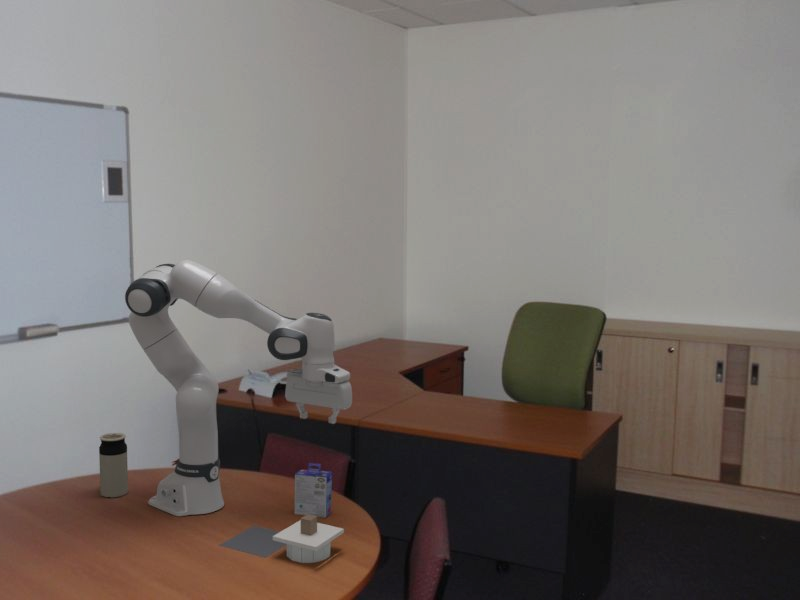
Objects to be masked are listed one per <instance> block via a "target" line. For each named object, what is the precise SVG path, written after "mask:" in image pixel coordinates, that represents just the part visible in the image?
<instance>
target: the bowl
mask: <svg viewBox="0 0 800 600" xmlns="http://www.w3.org/2000/svg"><path fill="white" fill-rule="evenodd" d="M331 542H332V541H331ZM331 542H329V543H328V544H326V545H325V546H323V547H322V548H320V549H319V550H317V551H314V550H310V549H306V548H302V547H298V546H294V545H290V544H287V545H286V557H287V558H288V559H289V560H291V561H292V562H296V563H299V564H300V563H301V564H314V563H318V562H323V561H324V562H325V560H327V559H329V558H330V557H331V551H332V550H331V548H332V547H331V545H332V543H331Z"/></svg>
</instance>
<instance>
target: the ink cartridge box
mask: <svg viewBox="0 0 800 600" xmlns="http://www.w3.org/2000/svg"><path fill="white" fill-rule="evenodd" d="M321 465H322V464H321V463H315V462H309V463H308V467H307V469H299V470H298V471H297V472H296V473H295V474H294V513H293V514H294V515H303V516H305V515H307V514H308V515H312V516H317V518H324V519H326V518H327V517H329V515H330V514H331V513H332V510H333V509H332V507H333V506H332V502H333V501H332V498H333V497H332V495H333V493H332V492H333V491H332V490H333V489H332V485H333V484H332V483H333V476H332V475H333V472H332V471H327V470H321V469H322V467H321ZM314 466H315V467H318V468H312V467H314Z"/></svg>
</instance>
